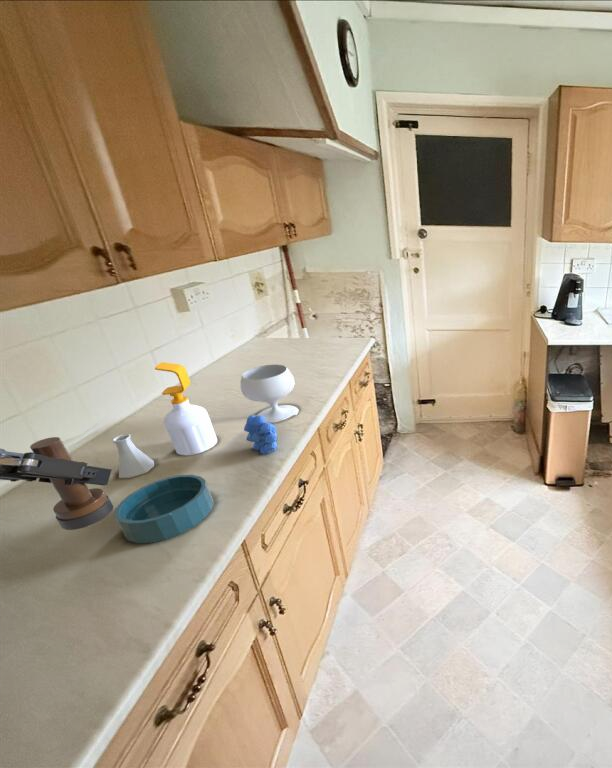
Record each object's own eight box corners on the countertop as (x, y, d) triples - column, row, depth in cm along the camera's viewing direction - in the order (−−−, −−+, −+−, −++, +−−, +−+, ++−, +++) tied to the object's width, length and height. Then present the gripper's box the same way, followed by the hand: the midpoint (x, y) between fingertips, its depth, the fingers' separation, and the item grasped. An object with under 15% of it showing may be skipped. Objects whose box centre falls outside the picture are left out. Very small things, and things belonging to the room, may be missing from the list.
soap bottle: (184, 441, 110) (151, 359, 100) (222, 436, 113) (194, 356, 102) (171, 460, 102) (133, 373, 92) (211, 454, 105) (179, 369, 95)
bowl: (106, 547, 77) (92, 524, 74) (162, 496, 90) (152, 475, 87) (184, 545, 78) (174, 522, 75) (228, 494, 91) (220, 473, 88)
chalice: (244, 430, 116) (229, 384, 109) (258, 408, 128) (245, 365, 122) (297, 424, 119) (285, 378, 113) (305, 403, 131) (295, 361, 125)
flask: (125, 466, 100) (108, 433, 96) (161, 460, 102) (146, 427, 98) (112, 484, 94) (94, 449, 90) (150, 476, 96) (134, 442, 92)
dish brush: (49, 530, 65) (0, 455, 58) (85, 503, 71) (44, 431, 64) (90, 529, 65) (46, 454, 59) (123, 502, 71) (85, 431, 65)
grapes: (296, 451, 106) (285, 412, 101) (272, 464, 101) (259, 424, 96) (268, 440, 111) (257, 402, 106) (244, 452, 106) (231, 413, 101)
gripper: (-183, 488, 45) (38, 500, 68) (-33, 485, 46) (137, 498, 68) (-148, 425, 48) (54, 456, 70) (-6, 423, 49) (150, 455, 71)
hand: (95, 477), depth 69 cm, fingers closed on dish brush, 3 cm apart
